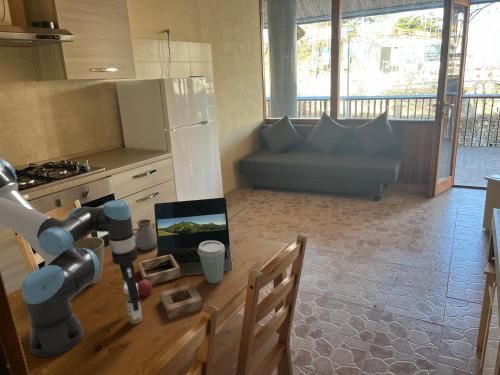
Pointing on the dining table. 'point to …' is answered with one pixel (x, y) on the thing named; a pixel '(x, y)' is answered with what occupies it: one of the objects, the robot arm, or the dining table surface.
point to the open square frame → (159, 276)
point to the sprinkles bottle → (130, 306)
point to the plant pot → (97, 248)
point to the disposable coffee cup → (212, 260)
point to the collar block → (182, 306)
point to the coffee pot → (145, 235)
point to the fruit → (144, 288)
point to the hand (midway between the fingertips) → (133, 306)
